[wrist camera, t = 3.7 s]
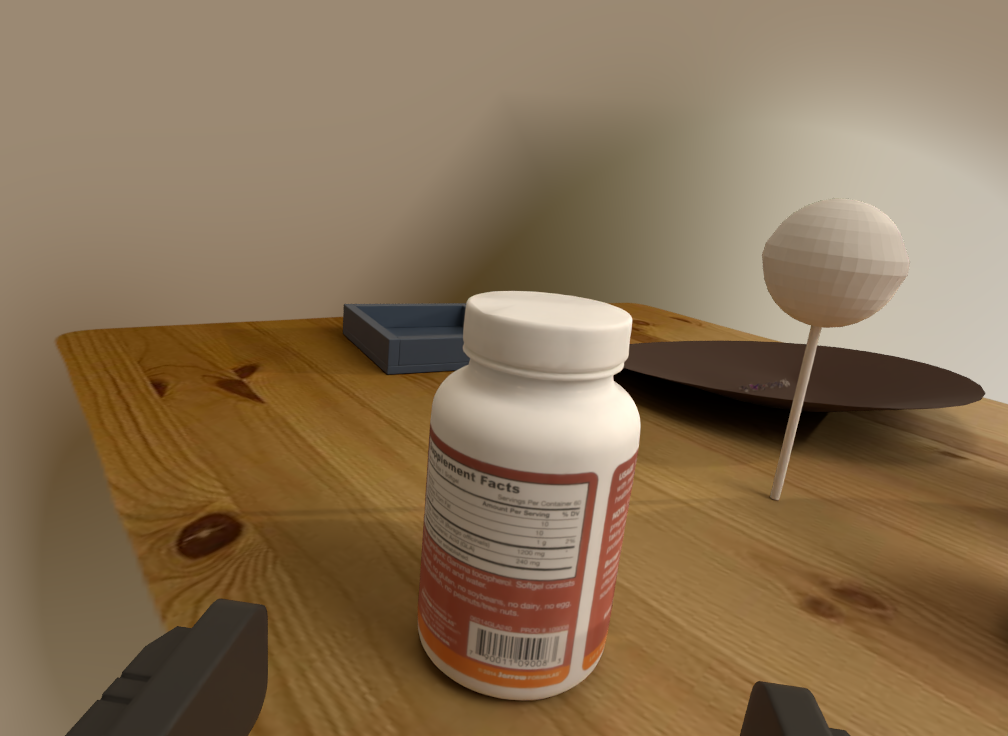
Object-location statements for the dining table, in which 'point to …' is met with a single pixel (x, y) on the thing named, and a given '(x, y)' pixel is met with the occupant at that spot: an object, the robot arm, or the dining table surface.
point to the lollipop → (830, 279)
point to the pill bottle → (527, 494)
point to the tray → (408, 335)
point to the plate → (776, 367)
